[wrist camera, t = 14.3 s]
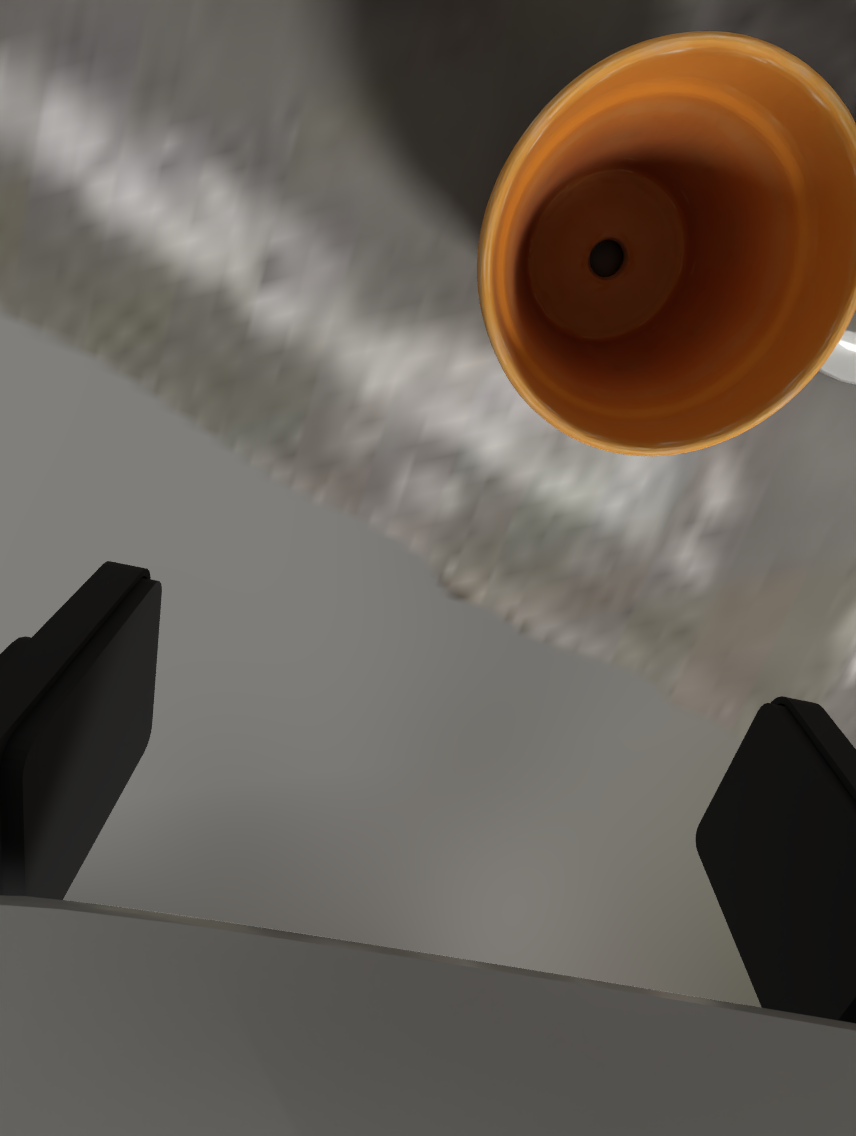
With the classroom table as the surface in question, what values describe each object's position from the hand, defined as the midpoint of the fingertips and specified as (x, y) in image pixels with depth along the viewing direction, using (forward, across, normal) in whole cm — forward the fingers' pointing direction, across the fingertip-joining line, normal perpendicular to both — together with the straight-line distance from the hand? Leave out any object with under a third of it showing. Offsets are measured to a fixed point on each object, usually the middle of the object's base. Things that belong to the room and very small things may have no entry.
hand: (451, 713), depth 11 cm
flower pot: (+32, -7, -7) cm, 34 cm away
